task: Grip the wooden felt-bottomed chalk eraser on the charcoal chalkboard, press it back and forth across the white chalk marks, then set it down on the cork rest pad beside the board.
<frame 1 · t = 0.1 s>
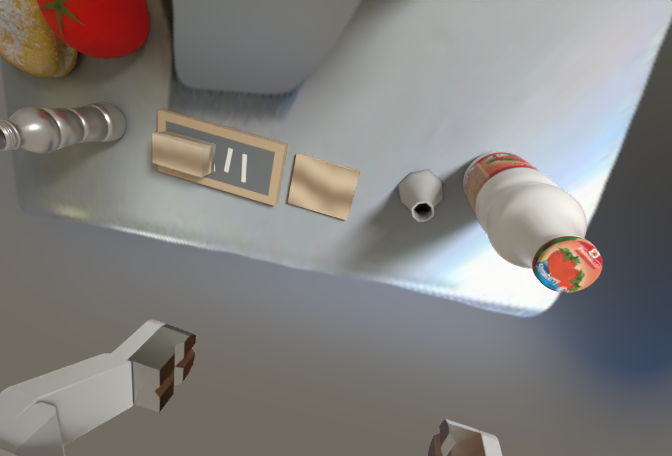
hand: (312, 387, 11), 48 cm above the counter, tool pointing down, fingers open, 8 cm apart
chalkboard: (221, 157, 61), on the counter
fruit juice: (493, 179, 53), on the counter
rest pad: (323, 186, 59), on the counter
flask: (420, 190, 56), on the counter
plastic bottle: (116, 120, 62), on the counter
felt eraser: (191, 151, 60), point 2 cm above the counter, touching chalkboard
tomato: (133, 20, 55), on the counter
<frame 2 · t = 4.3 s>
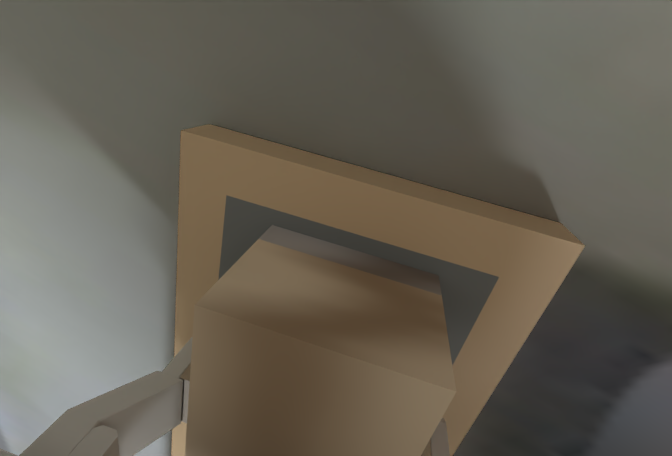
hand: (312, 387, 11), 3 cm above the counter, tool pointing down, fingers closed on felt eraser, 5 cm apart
chalkboard: (306, 414, 15), on the counter
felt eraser: (321, 360, 12), point 2 cm above the counter, touching chalkboard, gripper
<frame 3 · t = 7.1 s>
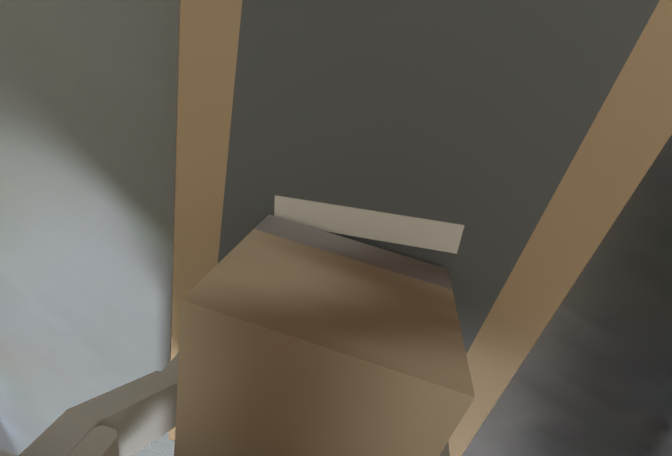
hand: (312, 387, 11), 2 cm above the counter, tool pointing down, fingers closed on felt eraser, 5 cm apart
chalkboard: (361, 233, 11), on the counter
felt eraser: (321, 359, 11), point 2 cm above the counter, touching gripper
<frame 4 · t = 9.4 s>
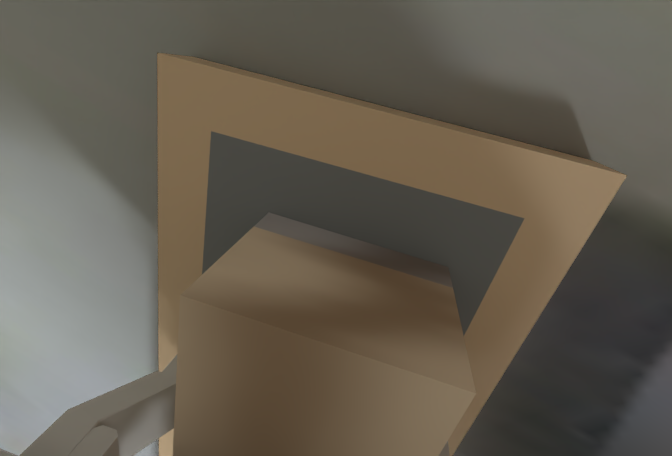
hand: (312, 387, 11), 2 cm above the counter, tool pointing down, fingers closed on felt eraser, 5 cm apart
chalkboard: (304, 393, 14), on the counter
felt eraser: (320, 359, 11), point 2 cm above the counter, touching gripper
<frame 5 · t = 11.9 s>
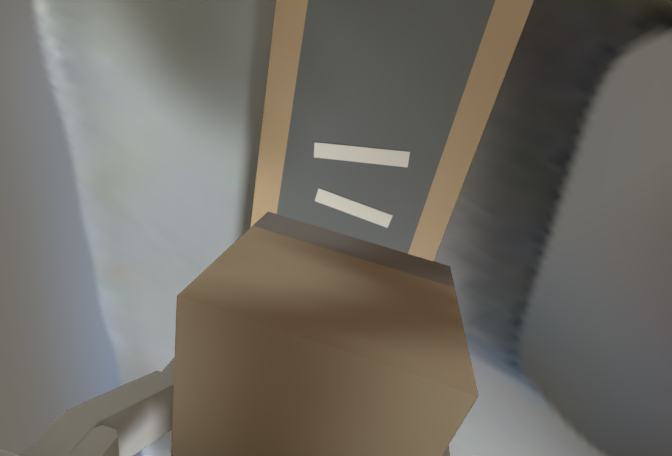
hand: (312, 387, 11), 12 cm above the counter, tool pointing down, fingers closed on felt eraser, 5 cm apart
chalkboard: (359, 166, 20), on the counter
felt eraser: (321, 359, 11), point 11 cm above the counter, touching gripper
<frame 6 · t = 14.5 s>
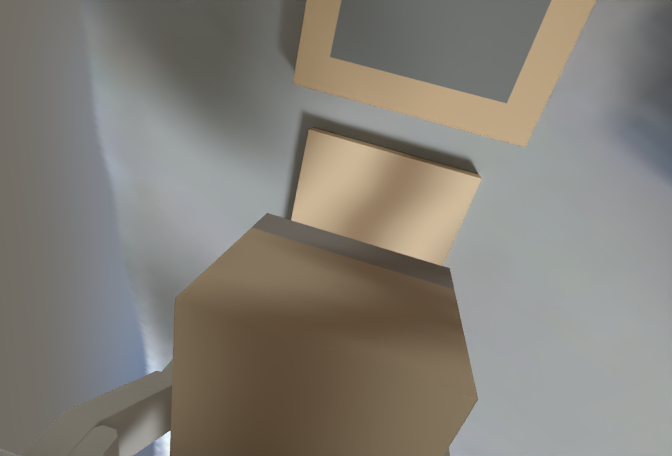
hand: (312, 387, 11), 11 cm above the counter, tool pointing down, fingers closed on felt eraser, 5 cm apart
rest pad: (365, 240, 20), on the counter
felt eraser: (320, 361, 11), point 10 cm above the counter, touching gripper
when the fingers open (3 cm above the counter, at t = 16.6 s): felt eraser drops 2 cm, resting on rest pad.
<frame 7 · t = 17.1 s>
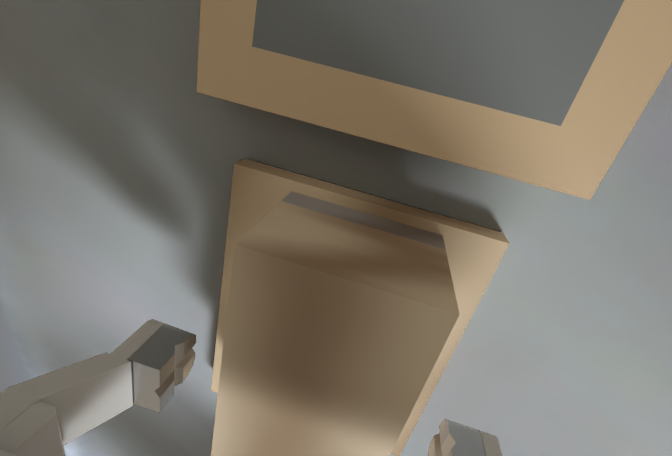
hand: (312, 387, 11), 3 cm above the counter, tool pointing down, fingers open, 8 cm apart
rest pad: (333, 319, 14), on the counter
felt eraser: (334, 320, 13), point 1 cm above the counter, touching rest pad
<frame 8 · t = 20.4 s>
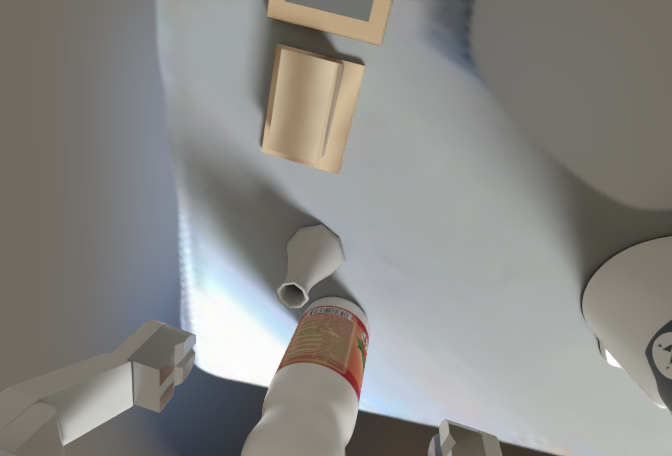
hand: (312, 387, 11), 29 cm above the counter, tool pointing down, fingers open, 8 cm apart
fruit juice: (336, 322, 47), on the counter
rest pad: (311, 111, 36), on the counter
flask: (316, 249, 43), on the counter
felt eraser: (310, 106, 35), point 1 cm above the counter, touching rest pad
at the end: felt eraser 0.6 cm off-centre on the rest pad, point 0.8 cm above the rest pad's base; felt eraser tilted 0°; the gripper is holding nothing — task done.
